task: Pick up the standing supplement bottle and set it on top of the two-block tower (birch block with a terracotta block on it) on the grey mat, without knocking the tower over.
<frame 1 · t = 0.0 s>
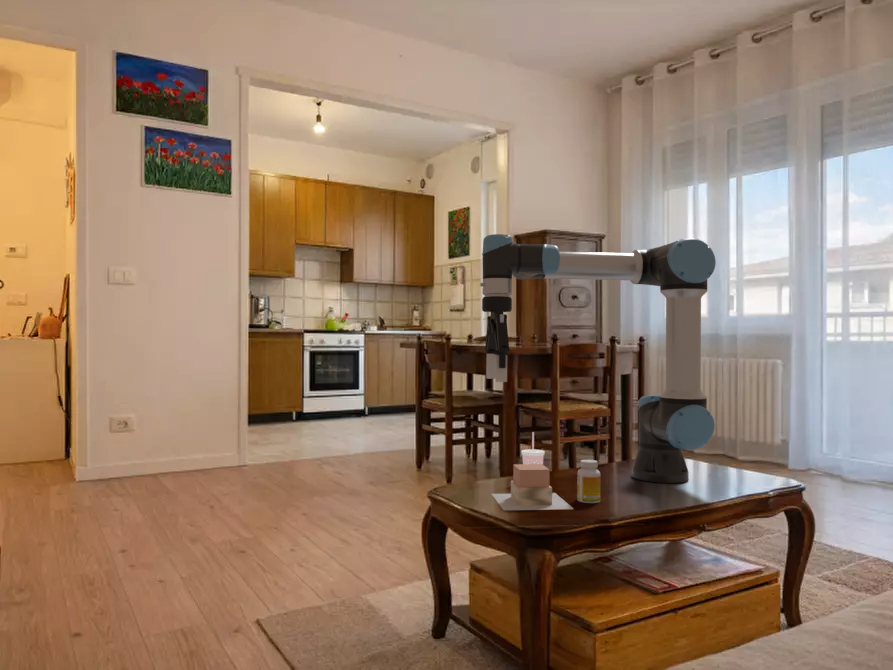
hand: (496, 380, 170), 28 cm above the table, fingers open, 13 cm apart
supplement bottle: (588, 502, 159), on the table
tower base block: (530, 501, 157), resting on tower mat, touching tower top block
tower top block: (531, 484, 157), point 4 cm above the table, touching tower base block
beverage cup: (532, 485, 177), on the table
tower mat: (530, 502, 157), on the table
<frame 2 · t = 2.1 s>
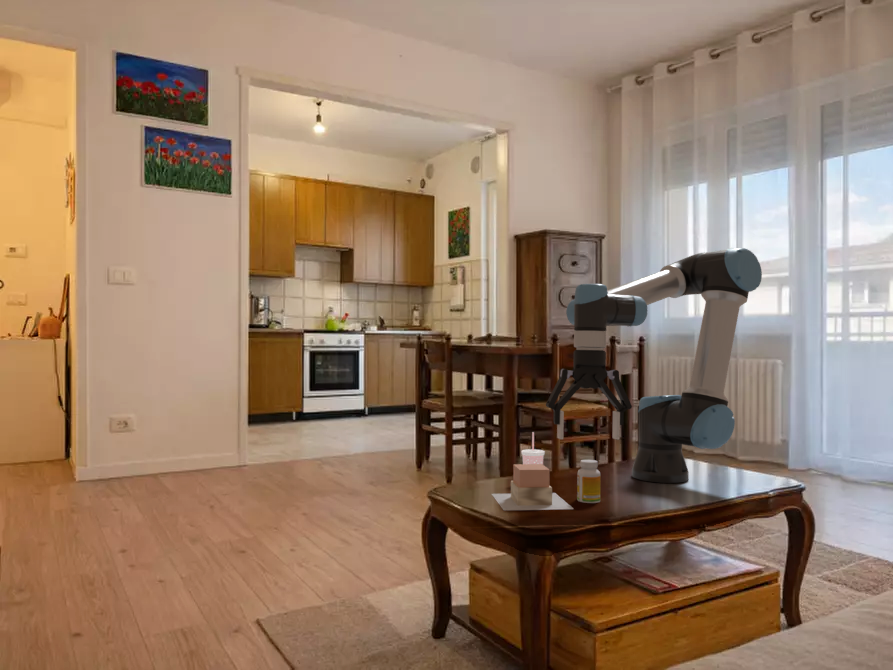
hand: (588, 438, 159), 15 cm above the table, fingers open, 13 cm apart
nothing on the table moved.
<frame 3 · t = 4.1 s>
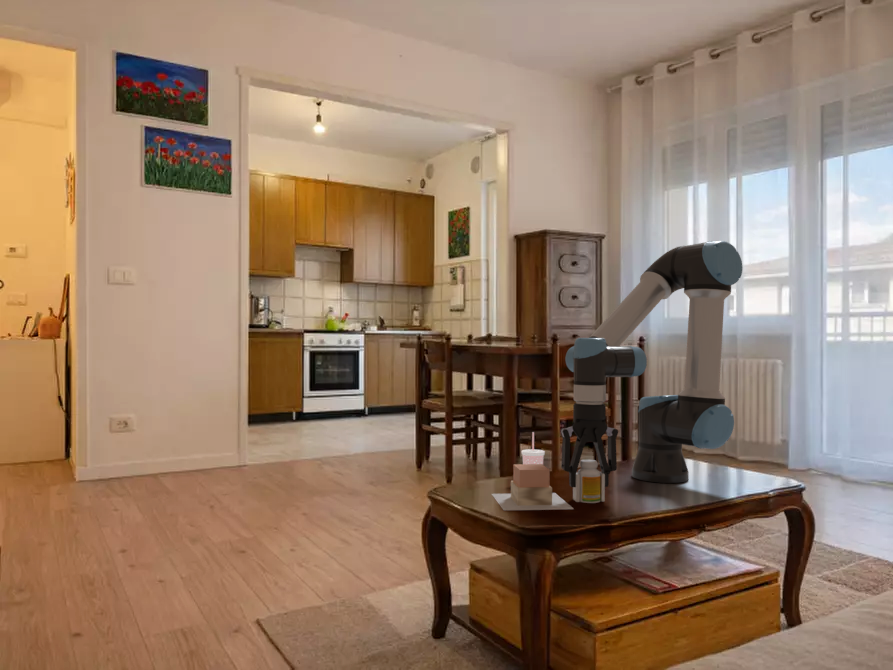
hand: (588, 500, 159), 0 cm above the table, fingers closed on supplement bottle, 5 cm apart
supplement bottle: (588, 502, 159), on the table, touching gripper
everything else where it was.
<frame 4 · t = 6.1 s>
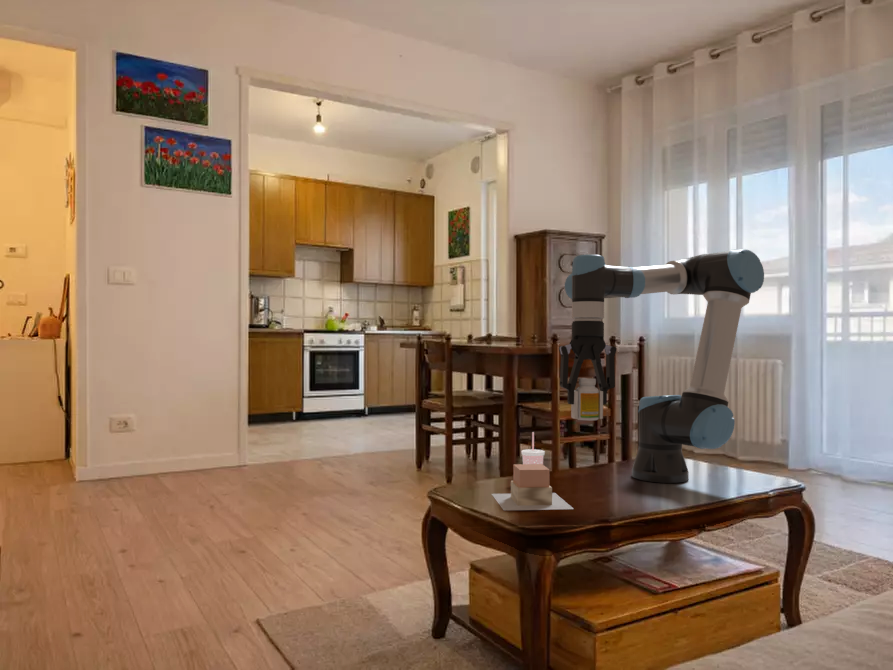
hand: (586, 418, 159), 20 cm above the table, fingers closed on supplement bottle, 5 cm apart
supplement bottle: (587, 420, 159), point 19 cm above the table, touching gripper
everything else where it was.
when the fingers open (10 cm above the table, at t = 8.4 s): supplement bottle drops 1 cm, resting on tower top block.
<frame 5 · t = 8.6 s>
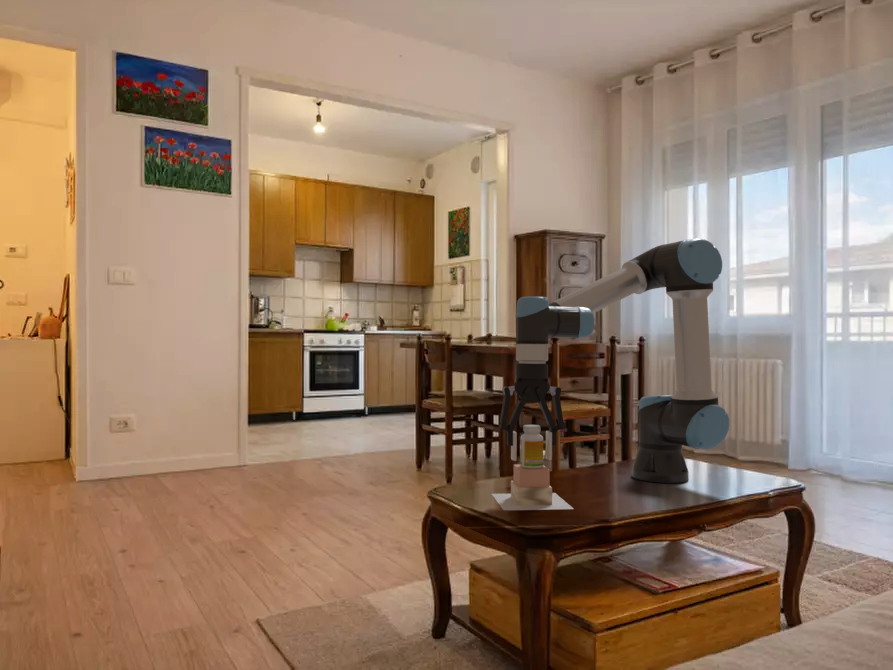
hand: (531, 459, 157), 10 cm above the table, fingers open, 8 cm apart
supplement bottle: (531, 467, 157), point 8 cm above the table, touching tower top block
tower top block: (531, 484, 157), point 4 cm above the table, touching supplement bottle, tower base block
everything else where it was.
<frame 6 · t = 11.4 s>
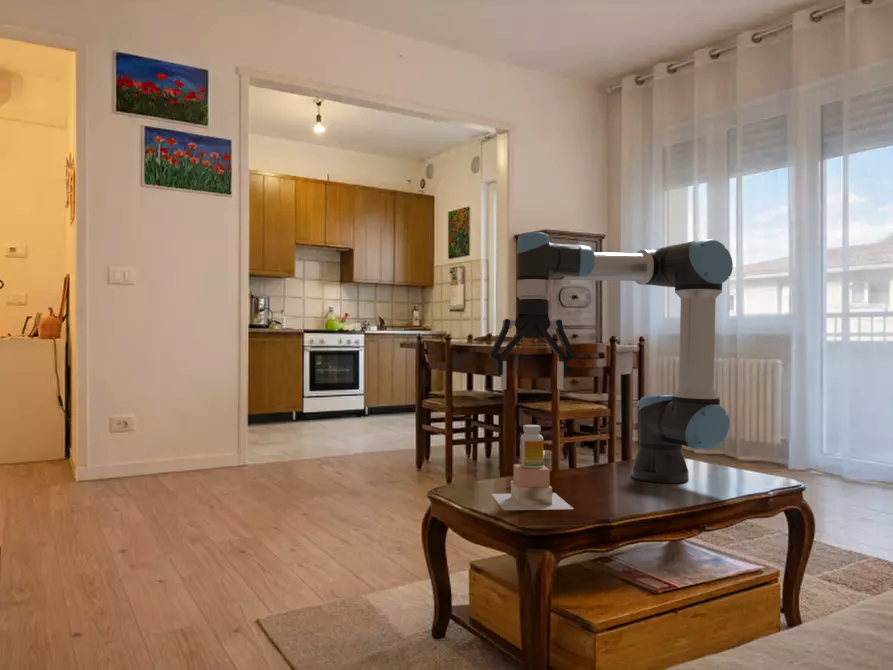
hand: (532, 389, 158), 27 cm above the table, fingers open, 13 cm apart
nothing on the table moved.
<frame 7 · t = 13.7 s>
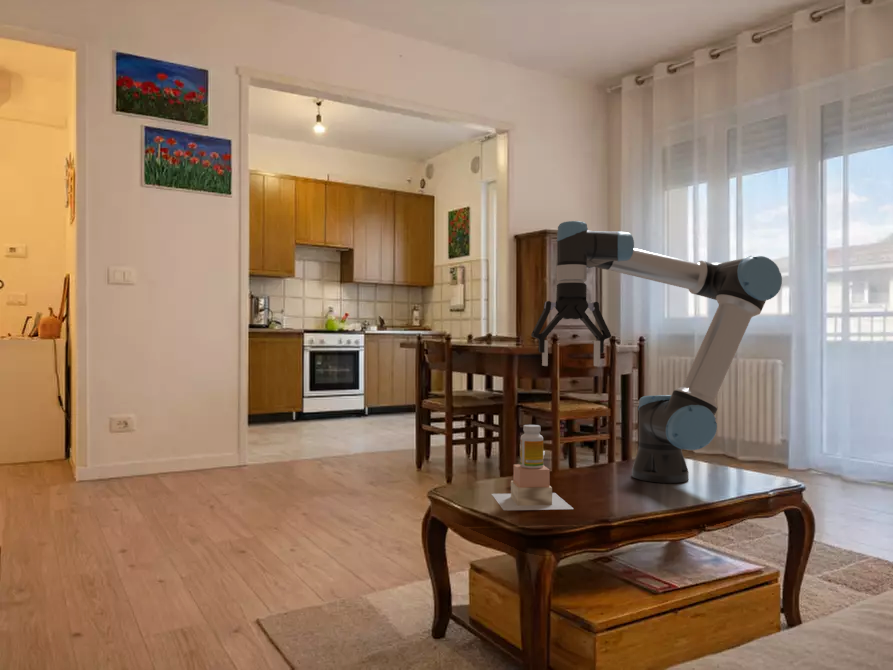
hand: (570, 366, 171), 32 cm above the table, fingers open, 13 cm apart
nothing on the table moved.
at the end: supplement bottle 0.1 cm off-centre on the tower top block, point 3.8 cm above the tower top block's base; tower top block 0.0 cm off-centre on the tower base block, point 4.0 cm above the tower base block's base; supplement bottle tilted 0° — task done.
